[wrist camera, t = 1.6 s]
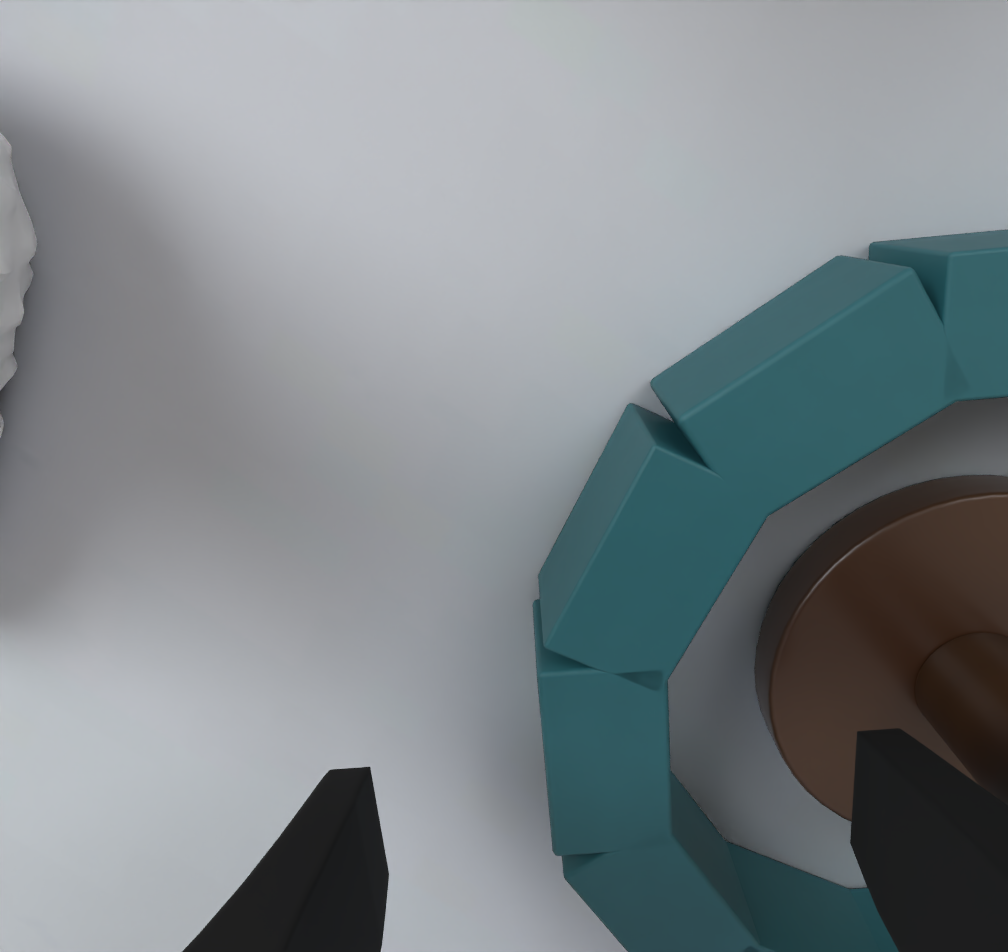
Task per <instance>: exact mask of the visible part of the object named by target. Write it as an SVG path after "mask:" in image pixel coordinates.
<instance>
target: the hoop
mask: <svg viewBox="0 0 1008 952" xmlns="http://www.w3.org/2000/svg"><path fill="white" fill-rule="evenodd" d="M650 384H651V388H652V389H653V391H654V392H655V394H656V395H657V397H658V398H659V400H660V401H661V403H662V404H663V406H664V407H665V409H666V410H667V412H668V413H669V415H670V416H671V418H672V419H673V421H674V422H675V423H674V422H672V421H670V420H668V419H665V418H663V417H661V416H659V415H657V414H655V413H652V412H650V411H648V410H646V409H644V408H642V407H639V406H637V405H635V404H633V403H630V404H628V405H627V407H626V409H625V411H624V413H623V415H622V417H621V418H620V420H619V422H618V424H617V426H616V428H615V430H614V432H613V434H612V436H611V437H610V439H609V441H608V443H607V445H606V447H605V449H604V451H603V453H602V455H601V457H600V458H599V460H598V462H597V464H596V466H595V468H594V470H593V472H592V474H591V476H590V477H589V479H588V481H587V483H586V485H585V487H584V489H583V491H582V493H581V495H580V497H579V498H578V500H577V502H576V504H575V506H574V508H573V510H572V512H571V514H570V516H569V517H568V519H567V521H566V523H565V525H564V527H563V529H562V531H561V533H560V535H559V537H558V538H557V540H556V542H555V544H554V546H553V548H552V550H551V552H550V554H549V556H548V557H547V559H546V561H545V563H544V565H543V567H542V569H541V571H540V573H539V575H538V579H539V592H540V599H537V600H535V601H534V603H533V617H534V634H535V651H536V668H537V682H538V693H539V704H540V715H541V726H542V737H543V748H544V759H545V770H546V781H547V792H548V804H549V815H550V826H551V837H552V848H553V852H554V854H555V855H557V856H562V861H563V873H564V878H565V879H566V881H567V882H568V883H569V884H570V885H571V887H572V888H573V889H574V890H575V891H576V892H577V893H578V895H579V896H580V897H581V898H582V899H583V900H584V902H585V903H586V904H587V905H588V906H589V907H590V908H591V910H592V911H593V912H594V913H595V914H596V915H597V917H598V918H599V919H600V920H601V921H602V922H603V924H604V925H605V926H606V927H607V928H608V929H609V930H610V932H611V933H612V934H613V935H614V936H615V937H616V939H617V940H618V941H619V942H620V943H621V944H622V945H623V947H624V948H625V949H626V950H627V951H628V952H899V951H898V949H897V947H896V945H895V943H894V942H893V940H892V938H891V936H890V934H889V932H888V930H887V928H886V927H885V925H884V923H883V921H882V919H881V917H880V915H879V913H878V911H877V909H876V906H875V904H874V901H873V899H872V896H871V894H870V892H869V889H868V888H858V889H847V888H845V887H842V886H840V885H837V884H835V883H832V882H829V881H827V880H824V879H822V878H819V877H817V876H814V875H811V874H809V873H806V872H804V871H801V870H799V869H796V868H793V867H791V866H788V865H786V864H783V863H781V862H778V861H775V860H773V859H770V858H768V857H765V856H763V855H760V854H757V853H755V852H752V851H750V850H747V849H745V848H742V847H739V846H737V845H734V844H732V843H729V842H727V841H725V840H724V839H723V838H722V836H721V835H720V834H719V832H718V831H717V830H716V829H715V827H714V826H713V825H712V823H711V822H710V821H709V819H708V818H707V817H706V816H705V814H704V813H703V812H702V810H701V809H700V808H699V806H698V805H697V804H696V803H695V801H694V800H693V799H692V797H691V796H690V795H689V793H688V792H687V791H686V790H685V788H684V787H683V786H682V784H681V783H680V782H679V780H678V779H677V778H676V777H675V775H674V774H673V773H672V771H671V770H670V738H669V704H668V679H669V677H670V675H671V674H672V672H673V670H674V669H675V667H676V666H677V664H678V662H679V661H680V659H681V657H682V656H683V654H684V652H685V651H686V649H687V648H688V646H689V644H690V643H691V641H692V639H693V638H694V636H695V634H696V633H697V631H698V630H699V628H700V626H701V625H702V623H703V621H704V620H705V618H706V616H707V615H708V613H709V612H710V610H711V608H712V607H713V605H714V603H715V602H716V600H717V598H718V597H719V595H720V594H721V592H722V590H723V589H724V587H725V585H726V584H727V582H728V580H729V579H730V577H731V576H732V574H733V572H734V571H735V569H736V567H737V566H738V564H739V562H740V561H741V559H742V558H743V556H744V554H745V553H746V551H747V549H748V548H749V546H750V544H751V543H752V541H753V540H754V538H755V536H756V535H757V533H758V531H759V530H760V528H761V526H762V525H763V523H764V522H765V520H766V518H767V517H768V516H769V515H771V514H772V513H774V512H775V511H777V510H779V509H780V508H782V507H784V506H785V505H787V504H789V503H790V502H792V501H794V500H795V499H797V498H799V497H800V496H802V495H803V494H805V493H807V492H808V491H810V490H812V489H813V488H815V487H817V486H818V485H820V484H822V483H823V482H825V481H826V480H828V479H830V478H831V477H833V476H835V475H836V474H838V473H840V472H841V471H843V470H845V469H846V468H848V467H849V466H851V465H853V464H854V463H856V462H858V461H859V460H861V459H863V458H864V457H866V456H868V455H869V454H871V453H872V452H874V451H876V450H877V449H879V448H881V447H882V446H884V445H886V444H887V443H889V442H891V441H892V440H894V439H896V438H897V437H899V436H900V435H902V434H904V433H905V432H907V431H909V430H910V429H912V428H914V427H915V426H917V425H919V424H920V423H922V422H923V421H925V420H927V419H928V418H930V417H932V416H933V415H935V414H937V413H938V412H940V411H942V410H943V409H945V408H946V407H948V406H950V405H951V404H953V403H955V402H957V401H968V400H980V399H992V398H1003V397H1008V230H997V231H987V232H976V233H965V234H955V235H944V236H933V237H922V238H912V239H901V240H890V241H879V242H873V243H871V244H870V246H869V259H868V260H865V259H859V258H853V257H848V256H842V255H841V256H836V257H835V258H833V259H832V260H830V261H829V262H827V263H826V264H824V265H823V266H821V267H820V268H818V269H817V270H815V271H814V272H812V273H811V274H809V275H808V276H806V277H805V278H803V279H802V280H800V281H799V282H797V283H796V284H794V285H793V286H791V287H790V288H788V289H787V290H785V291H784V292H782V293H781V294H779V295H778V296H776V297H775V298H773V299H772V300H770V301H769V302H767V303H766V304H764V305H763V306H761V307H760V308H758V309H757V310H755V311H754V312H752V313H751V314H749V315H748V316H746V317H745V318H743V319H742V320H740V321H739V322H737V323H736V324H734V325H733V326H731V327H730V328H728V329H727V330H725V331H724V332H722V333H721V334H719V335H718V336H716V337H715V338H713V339H712V340H710V341H709V342H707V343H706V344H704V345H703V346H701V347H700V348H698V349H697V350H695V351H694V352H692V353H691V354H689V355H688V356H686V357H685V358H683V359H682V360H680V361H679V362H677V363H676V364H674V365H673V366H671V367H670V368H668V369H667V370H665V371H664V372H662V373H661V374H659V375H658V376H656V377H655V378H653V379H652V381H651V382H650Z"/></svg>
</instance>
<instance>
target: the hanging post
mask: <svg viewBox="0 0 1008 952" xmlns="http://www.w3.org/2000/svg"><path fill="white" fill-rule="evenodd" d="M755 683H756V692H757V697H758V701H759V705H760V710H761V712H762V715H763V717H764V720H765V722H766V725H767V727H768V730H769V732H770V734H771V736H772V738H773V740H774V742H775V744H776V746H777V748H778V750H779V752H780V754H781V756H782V758H783V759H784V761H785V763H786V764H787V766H788V768H789V769H790V771H791V773H792V774H793V775H794V777H795V778H796V779H797V780H798V781H799V783H800V784H801V785H802V786H803V787H804V789H805V790H806V791H807V792H809V793H810V794H811V795H812V796H813V797H814V798H815V799H817V800H818V801H819V802H820V803H821V804H822V805H824V806H825V807H827V808H829V809H830V810H832V811H833V812H835V813H836V814H838V815H839V816H841V817H842V818H844V819H847V820H849V821H851V822H852V807H853V790H854V774H855V757H856V741H857V731H867V730H880V729H894V728H900V729H901V730H903V731H904V732H906V733H907V734H909V735H910V736H912V737H913V738H915V739H916V740H918V741H919V742H920V743H922V744H923V745H925V746H926V747H927V748H929V749H930V750H932V751H933V752H934V753H936V754H937V755H938V756H940V757H941V758H943V759H944V760H945V761H947V762H948V763H949V764H951V765H952V766H954V767H955V768H956V769H958V770H959V771H960V772H962V773H963V774H965V775H966V776H967V777H969V778H970V779H972V780H973V781H974V782H976V783H977V784H979V785H980V786H981V787H983V788H984V789H985V790H987V791H988V792H990V793H991V794H993V795H994V796H995V797H997V798H998V799H1000V800H1001V801H1002V802H1004V803H1005V804H1007V805H1008V477H1005V476H995V475H965V476H956V477H949V478H942V479H935V480H931V481H927V482H923V483H919V484H915V485H912V486H908V487H905V488H902V489H900V490H897V491H895V492H892V493H890V494H887V495H884V496H882V497H880V498H878V499H876V500H874V501H872V502H870V503H868V504H866V505H864V506H863V507H861V508H859V509H857V510H855V511H854V512H852V513H851V514H849V515H848V516H846V517H845V518H844V519H842V520H841V521H839V522H838V523H836V524H835V525H833V526H832V527H831V528H830V529H829V530H828V531H826V532H825V533H824V534H823V535H822V536H821V537H819V538H818V539H817V540H816V541H815V542H814V543H813V544H812V545H811V546H810V547H809V548H808V549H807V550H806V551H805V552H804V553H803V555H802V556H801V557H800V558H799V559H798V560H797V561H796V562H795V564H794V565H793V567H792V568H791V569H790V571H789V572H788V573H787V575H786V576H785V578H784V579H783V580H782V582H781V584H780V586H779V587H778V589H777V591H776V593H775V595H774V596H773V598H772V600H771V602H770V604H769V607H768V610H767V612H766V615H765V617H764V620H763V622H762V626H761V630H760V634H759V638H758V643H757V647H756V658H755Z"/></svg>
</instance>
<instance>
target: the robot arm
mask: <svg viewBox="0 0 1008 952" xmlns="http://www.w3.org/2000/svg"><path fill="white" fill-rule="evenodd" d="M850 843H851V846H852V848H853V851H854V854H855V856H856V859H857V861H858V864H859V867H860V869H861V872H862V874H863V877H864V880H865V882H866V884H867V887H868V889H869V892H870V894H871V896H872V899H873V901H874V904H875V906H876V909H877V911H878V913H879V915H880V917H881V919H882V921H883V923H884V925H885V927H886V928H887V930H888V932H889V934H890V936H891V938H892V940H893V942H894V943H895V945H896V947H897V949H898V951H899V952H1008V805H1007V804H1005V803H1004V802H1002V801H1001V800H1000V799H998V798H997V797H995V796H994V795H993V794H991V793H990V792H988V791H987V790H985V789H984V788H983V787H981V786H980V785H979V784H977V783H976V782H974V781H973V780H972V779H970V778H969V777H967V776H966V775H965V774H963V773H962V772H960V771H959V770H958V769H956V768H955V767H954V766H952V765H951V764H949V763H948V762H947V761H945V760H944V759H943V758H941V757H940V756H938V755H937V754H936V753H934V752H933V751H932V750H930V749H929V748H927V747H926V746H925V745H923V744H922V743H920V742H919V741H918V740H916V739H915V738H913V737H912V736H910V735H909V734H907V733H906V732H904V731H903V730H901V729H900V728H894V729H880V730H867V731H857V741H856V757H855V774H854V790H853V807H852V823H851V840H850ZM388 879H389V872H388V866H387V861H386V855H385V849H384V844H383V838H382V832H381V826H380V821H379V815H378V809H377V804H376V798H375V792H374V787H373V781H372V775H371V770H370V767H362V768H348V769H334V770H329V771H328V773H327V774H326V775H325V776H324V777H323V778H322V780H321V781H320V782H319V784H318V785H317V786H316V788H315V789H314V791H313V792H312V793H311V795H310V796H309V797H308V799H307V800H306V802H305V803H304V804H303V806H302V807H301V808H300V810H299V811H298V812H297V814H296V815H295V817H294V818H293V819H292V821H291V822H290V823H289V825H288V826H287V827H286V829H285V830H284V831H283V833H282V834H281V835H280V837H279V838H278V839H277V841H276V842H275V843H274V844H273V846H272V847H271V848H270V849H269V851H268V852H267V853H266V855H265V856H264V857H263V858H262V860H261V861H260V862H259V863H258V865H257V866H256V867H255V868H254V870H253V871H252V872H251V874H250V875H249V876H248V877H247V879H246V880H245V881H244V882H243V883H242V885H241V886H240V887H239V888H238V889H237V891H236V892H235V893H234V894H233V895H232V896H231V898H230V899H229V900H228V901H227V902H226V903H225V904H224V906H223V907H222V908H221V909H220V910H219V911H218V913H217V914H216V915H215V916H214V917H213V918H212V919H211V921H210V922H209V923H208V924H207V925H206V926H205V928H204V929H203V930H202V931H201V932H200V933H199V934H198V935H197V936H196V938H195V939H194V940H193V941H192V942H191V943H190V944H189V945H188V946H187V947H186V948H185V949H184V950H183V952H380V951H381V947H382V939H383V930H384V921H385V911H386V900H387V890H388Z"/></svg>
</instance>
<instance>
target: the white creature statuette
mask: <svg viewBox="0 0 1008 952" xmlns="http://www.w3.org/2000/svg"><path fill="white" fill-rule="evenodd" d="M37 243H38V241H37V238H36V235H35V231H34V228H33V225H32V221H31V218H30V216H29V214H28V211H27V209H26V206H25V204H24V202H23V199H22V197H21V194H20V191H19V187H18V184H17V180H16V177H15V173H14V169H13V166H12V162H11V145H10V144H9V142H8V141H7V140H6V138H5V137H4V136H3V135H2V133H1V132H0V390H1V389H2V388H3V387H4V386H5V384H6V383H7V382H8V381H9V380H10V379H11V378H12V376H13V375H14V373H15V371H16V369H17V367H18V366H17V363H16V361H15V358H14V355H13V353H12V352H13V351H14V339H15V329H16V327H17V326H19V325H20V324H21V322H22V318H23V315H24V308H23V299H24V295H25V293H26V291H27V290H28V288H29V286H30V284H31V281H32V277H33V271H32V269H31V266H30V264H29V261H30V260H31V259H32V257H33V256H34V255H35V253H36V248H37ZM3 426H4V420H3V418H2V416H1V413H0V437H1V434H2V431H3Z"/></svg>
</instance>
